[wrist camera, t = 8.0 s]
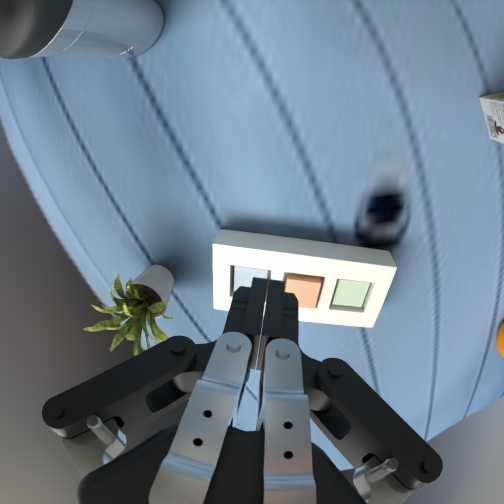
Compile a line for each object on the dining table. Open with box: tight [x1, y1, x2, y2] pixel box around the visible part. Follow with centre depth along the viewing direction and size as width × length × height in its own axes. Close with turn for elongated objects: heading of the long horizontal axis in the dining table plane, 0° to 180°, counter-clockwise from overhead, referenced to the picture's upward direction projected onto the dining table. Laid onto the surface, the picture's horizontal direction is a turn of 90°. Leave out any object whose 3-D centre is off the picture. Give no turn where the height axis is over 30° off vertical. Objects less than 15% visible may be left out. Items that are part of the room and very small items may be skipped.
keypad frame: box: [213, 229, 397, 327], centre depth 40 cm, size 24×11×4 cm, turn 86°
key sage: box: [332, 279, 370, 307], centre depth 39 cm, size 4×4×2 cm
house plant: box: [84, 265, 174, 356], centre depth 39 cm, size 14×14×16 cm
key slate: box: [234, 265, 268, 292], centre depth 40 cm, size 4×4×2 cm
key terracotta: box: [284, 272, 321, 309], centre depth 38 cm, size 4×4×2 cm
